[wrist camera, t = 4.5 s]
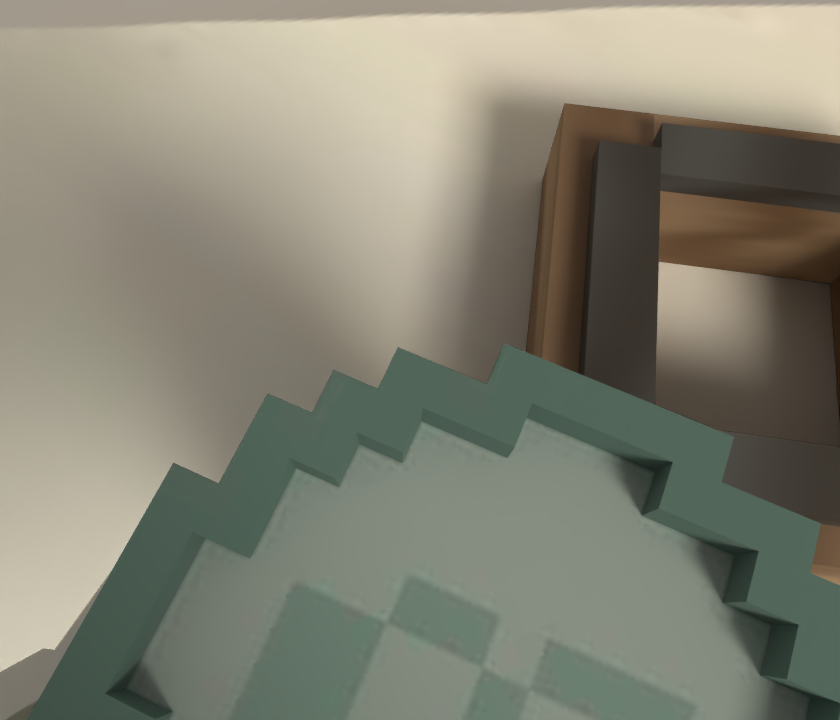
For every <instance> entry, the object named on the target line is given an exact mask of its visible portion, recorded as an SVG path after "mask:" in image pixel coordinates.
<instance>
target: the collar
mask: <svg viewBox="0 0 840 720" xmlns="http://www.w3.org/2000/svg"><path fill="white" fill-rule="evenodd" d="M659 262H667V263H675V264H683V265H691V266H698V267H706V268H714V269H722V270H730V271H737V272H745V273H753V274H761V275H769V276H777V277H784V278H792V279H800V280H808V281H816V282H823V283H830V288H831V302H832V317H833V331H834V345H835V359H836V373H837V387H838V402H839V416H840V136H836V135H827V134H819V133H810V132H802V131H793V130H785V129H776V128H768V127H759V126H751V125H743V124H734V123H726V122H717V121H709V120H700V119H692V118H683V117H675V116H667V115H658V114H650V113H641V112H633V111H624V110H616V109H607V108H599V107H590V106H582V105H574V104H565V103H564V107H563V110H562V114H561V117H560V121H559V124H558V128H557V131H556V135H555V138H554V142H553V145H552V149H551V152H550V156H549V159H548V163H547V166H546V170H545V173H544V177H543V181H542V192H541V202H540V212H539V223H538V233H537V243H536V253H535V264H534V274H533V284H532V295H531V305H530V315H529V325H528V336H527V346H526V352H527V353H530V354H532V355H534V356H537V357H539V358H542V359H544V360H547V361H549V362H552V363H554V364H556V365H559V366H561V367H564V368H566V369H569V370H571V371H574V372H576V373H579V374H581V375H583V376H586V377H588V378H591V379H593V380H596V381H598V382H601V383H603V384H605V385H608V386H610V387H613V388H615V389H618V390H620V391H623V392H625V393H628V394H630V395H632V396H635V397H637V398H640V399H642V400H645V401H647V402H650V403H652V404H655V376H656V339H657V301H658V263H659ZM718 431H721V432H723V433H726V434H728V435H731V436H733V437H734V439H733V443H732V446H731V450H730V454H729V457H728V461H727V464H726V468H725V472H724V475H723V479H722V483H725V484H727V485H730V486H732V487H735V488H737V489H739V490H742V491H744V492H747V493H749V494H751V495H754V496H756V497H759V498H761V499H763V500H766V501H768V502H771V503H773V504H775V505H778V506H780V507H783V508H785V509H787V510H790V511H792V512H795V513H797V514H799V515H802V516H804V517H807V518H809V519H811V520H814V521H816V522H819V523H821V526H820V531H819V535H818V540H817V545H816V549H815V554H814V558H813V563H812V567H811V572H810V573H812V574H814V575H816V576H819V577H821V578H824V579H826V580H828V581H831V582H833V583H835V584H838V585H840V447H838V446H830V445H823V444H816V443H809V442H802V441H794V440H787V439H780V438H773V437H765V436H758V435H751V434H744V433H737V432H729V431H722V430H718Z"/></svg>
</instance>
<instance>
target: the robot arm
mask: <svg viewBox="0 0 840 720" xmlns="http://www.w3.org/2000/svg"><path fill="white" fill-rule="evenodd" d="M110 573H111V572H110ZM109 575H110V574H109ZM109 575H108V577H109ZM108 577H107V578H108ZM107 578H106V579H105V581H104V582H103V584H102V585H101V586H100V588H99V589H98V590H97V592H96V593H95V595H94V596H93V597H92V599H91V600H90V601H89V603H88V604H87V606H86V607H85V608H84V610H83V611H82V613H81V614H80V615H79V617H78V618H77V619H76V621H75V622H74V624H73V625H72V626H71V628H70V629H69V631H68V632H67V633H66V635H65V636H64V637H63V639H62V640H61V642H60V643H59V644H58V646H57V647H56V648H55V650H51V649H42V650H40V651H38V652H36V653H34V654H33V655H31V656H29V657H27V658H25V659H23V660H22V661H20V662H18V663H16V664H14V665H12V666H11V667H9V668H7V669H5V670H3V671H1V672H0V720H27V718H28V717H29V715H30V713H31V711H32V710H33V708H34V706H35V704H36V703H37V701H38V699H39V697H40V696H41V694H42V692H43V690H44V689H45V687H46V685H47V683H48V682H49V680H50V678H51V676H52V675H53V673H54V671H55V669H56V668H57V666H58V664H59V662H60V661H61V659H62V657H63V655H64V654H65V652H66V650H67V648H68V647H69V645H70V643H71V641H72V640H73V638H74V636H75V634H76V633H77V631H78V629H79V627H80V626H81V624H82V622H83V620H84V619H85V617H86V615H87V613H88V612H89V610H90V608H91V606H92V605H93V603H94V601H95V599H96V598H97V596H98V594H99V592H100V591H101V589H102V587H103V585H104V584H105V582H106V580H107Z"/></svg>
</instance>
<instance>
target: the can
mask: <svg viewBox="0 0 840 720" xmlns="http://www.w3.org/2000/svg"><path fill="white" fill-rule="evenodd" d="M733 439H734V437H733V436H731V435H728V434H726V433H723V432H721V431H718V430H716V429H713V428H711V427H708V426H706V425H704V424H701V423H699V422H696V421H694V420H691V419H689V418H686V417H684V416H681V415H679V414H677V413H674V412H672V411H669V410H667V409H664V408H662V407H659V406H657V405H655V404H652V403H650V402H647V401H645V400H642V399H640V398H637V397H635V396H632V395H630V394H628V393H625V392H623V391H620V390H618V389H615V388H613V387H610V386H608V385H605V384H603V383H601V382H598V381H596V380H593V379H591V378H588V377H586V376H583V375H581V374H579V373H576V372H574V371H571V370H569V369H566V368H564V367H561V366H559V365H556V364H554V363H552V362H549V361H547V360H544V359H542V358H539V357H537V356H534V355H532V354H530V353H527V352H525V351H522V350H520V349H517V348H515V347H512V346H510V345H507V344H505V343H504V345H503V347H502V349H501V352H500V354H499V356H498V359H497V361H496V363H495V366H494V368H493V371H492V373H491V375H490V378H489V380H488V382H487V384H485V383H482V382H480V381H478V380H475V379H473V378H470V377H468V376H466V375H463V374H461V373H458V372H456V371H454V370H451V369H449V368H446V367H444V366H442V365H439V364H437V363H434V362H432V361H430V360H427V359H425V358H422V357H420V356H418V355H415V354H413V353H410V352H408V351H406V350H403V349H401V348H397V350H396V352H395V354H394V357H393V359H392V361H391V363H390V365H389V367H388V369H387V371H386V373H385V375H384V377H383V379H382V381H381V384H380V386H379V388H378V389H377V388H375V387H372V386H370V385H368V384H365V383H363V382H361V381H358V380H356V379H354V378H351V377H349V376H347V375H344V374H342V373H340V372H337V371H335V370H334V371H333V373H332V374H331V376H330V378H329V380H328V382H327V384H326V386H325V388H324V390H323V392H322V394H321V396H320V398H319V400H318V402H317V404H316V406H315V408H314V410H313V412H312V413H311V412H309V411H307V410H304V409H302V408H300V407H298V406H295V405H293V404H291V403H288V402H286V401H284V400H281V399H279V398H277V397H275V396H272V395H270V394H267V395H266V397H265V399H264V401H263V403H262V405H261V407H260V408H259V410H258V412H257V414H256V416H255V418H254V419H253V421H252V423H251V425H250V427H249V429H248V431H247V432H246V434H245V436H244V438H243V440H242V442H241V444H240V445H239V447H238V449H237V451H236V453H235V455H234V456H233V458H232V460H231V462H230V464H229V466H228V468H227V469H226V471H225V473H224V475H223V477H222V479H221V480H220V482H219V483H216V482H214V481H212V480H210V479H208V478H205V477H203V476H201V475H199V474H197V473H194V472H192V471H190V470H188V469H186V468H183V467H181V466H179V465H177V464H175V463H173V465H172V466H171V468H170V470H169V472H168V473H167V475H166V477H165V479H164V480H163V482H162V484H161V486H160V487H159V489H158V491H157V493H156V494H155V496H154V498H153V500H152V501H151V503H150V505H149V507H148V508H147V510H146V512H145V514H144V515H143V517H142V519H141V521H140V522H139V524H138V526H137V528H136V529H135V531H134V533H133V535H132V536H131V538H130V540H129V542H128V543H127V545H126V547H125V549H124V550H123V552H122V554H121V556H120V557H119V559H118V561H117V563H116V564H115V566H114V568H113V570H112V571H111V573H110V575H109V577H108V578H107V580H106V582H105V584H104V585H103V587H102V589H101V591H100V592H99V594H98V596H97V598H96V599H95V601H94V603H93V605H92V606H91V608H90V610H89V612H88V613H87V615H86V617H85V619H84V620H83V622H82V624H81V626H80V627H79V629H78V631H77V633H76V634H75V636H74V638H73V640H72V641H71V643H70V645H69V647H68V648H67V650H66V652H65V654H64V655H63V657H62V659H61V661H60V662H59V664H58V666H57V668H56V669H55V671H54V673H53V675H52V676H51V678H50V680H49V682H48V683H47V685H46V687H45V689H44V690H43V692H42V694H41V696H40V697H39V699H38V701H37V703H36V704H35V706H34V708H33V710H32V711H31V713H30V715H29V717H28V718H27V720H840V585H838V584H835V583H833V582H831V581H828V580H826V579H824V578H821V577H819V576H816V575H814V574H812V573H810V572H811V567H812V563H813V558H814V554H815V549H816V545H817V540H818V535H819V531H820V526H821V523H819V522H816V521H814V520H811V519H809V518H807V517H804V516H802V515H799V514H797V513H795V512H792V511H790V510H787V509H785V508H783V507H780V506H778V505H775V504H773V503H771V502H768V501H766V500H763V499H761V498H759V497H756V496H754V495H751V494H749V493H747V492H744V491H742V490H739V489H737V488H735V487H732V486H730V485H727V484H725V483H722V479H723V475H724V472H725V468H726V464H727V461H728V457H729V454H730V450H731V446H732V443H733Z"/></svg>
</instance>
